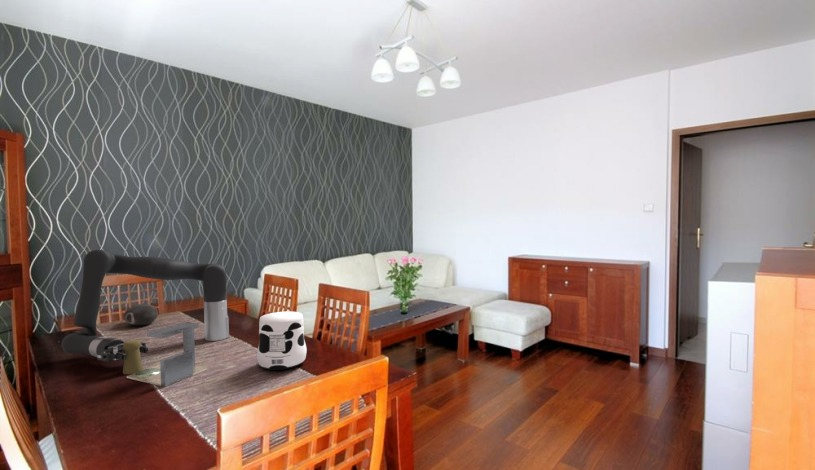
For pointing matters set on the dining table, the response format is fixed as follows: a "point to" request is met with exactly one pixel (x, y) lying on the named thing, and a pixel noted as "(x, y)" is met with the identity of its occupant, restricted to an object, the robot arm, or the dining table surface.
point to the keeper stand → (172, 358)
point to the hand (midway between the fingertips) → (136, 353)
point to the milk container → (281, 340)
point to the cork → (132, 357)
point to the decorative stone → (140, 314)
